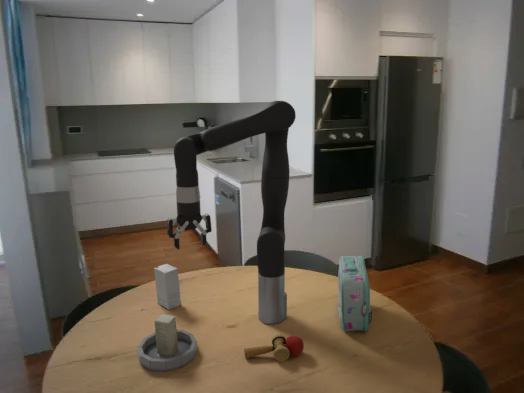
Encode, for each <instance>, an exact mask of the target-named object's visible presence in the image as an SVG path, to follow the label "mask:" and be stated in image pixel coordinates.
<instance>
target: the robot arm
mask: <svg viewBox="0 0 524 393" xmlns="http://www.w3.org/2000/svg"><path fill="white" fill-rule="evenodd" d="M296 117H297V116H296V110H295V108H294V107H293V106H292V104H290V103H289V102H287V101H284V100H275V101H272V102H270V103H269V104H268V105H267V106H266V108H264V109H263V110H260V111H259V112H257V113H255V114H252V115H250V116H246V117H243V118H239V119H235V120H231V121H228V122H223V123H221V124H217V125H215V126H213V127H209V128H207V129H204V130H203V131H200V132H196V133H192V134H189V135H186V136H185V135H184V136H183V137H180V138H178V140H177V141H176V142H175V143H174V145H173V158H174V166H175V171H176V172H175V183H176V190H175V196H176V218H171V217H169V218H167V221H166V222H167V236H168V238H170V239H173V246H174V248H175V249H177V251H178V250H180V247H181V246H180V238H179V237H180V236H181V234H183V232H184V231H190V230H191V231H193V230H196V229H198V231H200V232H201V233H200V245H201V246H202V247H203V246H206V244H207V234H209V233H211V232H212V221H211V215H210V214H209V213H205V214H203V215H202V214H201V213H202V212H201V195H200V194H201V192H200V186H199V183H200V182H199V172H198V168H197V166H198V165H197V163H198V162H197V159H198V158H197V156H199V155H201V154H203V153H206V152H212V151H216V150H220V149H223V148H225V147H228V146H230V145H233V144H236V143H239V142H241V141H244V140H246V139H248V138H249V139H250V138H252V137H255V136H258V135H259V136H260V135H263V134H264V136H265V139H264V141H265V142H264V151H263V157H262V158H263V159H262V169H261V179H260V180H261V181H260V182H261V183H260V189H261V190H260V191H261V192H260V193H261V201H262V208H263V209H262V221H261V228H260V231H259V235H258V237H257V240H256V265H257V273H258V274H257V279H258V280H257V281H258V283H257V284H258V285H257V287H258V289H257V290H258V293H257V294H258V299H257V300H258V309H257V312H258V314H257V315H258V320H259V321H260V322H261V323H263V324H267V325H276V324H279V323H282V322H283V321H285V320H286V319H288V318H287V316H288V311H287V310H288V306H287V305H288V294H287V293H286V292H285V288H286V287H285V286H286V285H285V284H286V283H285V282H286V281H285V280H286V279H285V277H286V276H285V274H286V273H285V272H286V270H285V269H286V268H285V267H286V266H285V243H286V232H285V231H286V229H285V210H286V206H287V200H288V194H289V187H290V186H289V184H290V161H289V160H290V159H289V153H288V136H289V129H290V128H291V126H292V125H293V124H294V123H295V120H296ZM202 220H203V221H204V222H205V223H204V224H205V228H203V227H202V226H201V222H202ZM176 223H177V224H178V226H177V227H176V229H175V231H174V230H173V229H174V226H175V225H176ZM173 231H174V232H173Z"/></svg>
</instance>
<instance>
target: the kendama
mask: <svg viewBox="0 0 524 393" xmlns="http://www.w3.org/2000/svg"><path fill="white" fill-rule="evenodd" d="M271 344H272V345H264V346H253V347H244V349H243V351H244V358H245V359H250V358H253V357H257V356H260V355H261V356H262V355H265V354H269V353H271V352H273V354H272V355H273V358H274V359H275V361H278V362H285V361H287V360H288V359H289V357H290V356H291V357H298V356H299V355H300V354H302V353H303V352H304V347H305V346H304V345H305V344H304V341H303V339H302V338H301V337H300V336H299V335H295V334H292V335H288V336H287V337H285V336H284V335H283V334H276V335H274V336H273V337H271Z"/></svg>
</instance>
